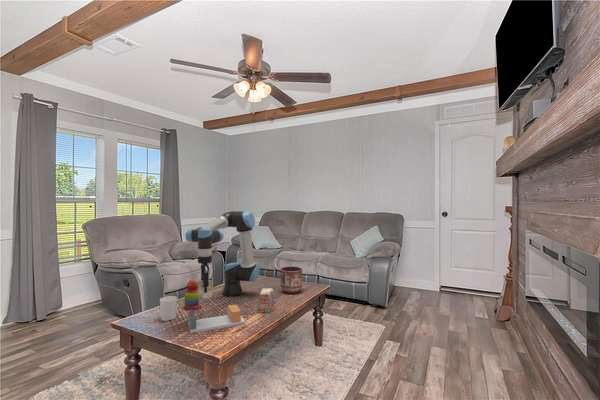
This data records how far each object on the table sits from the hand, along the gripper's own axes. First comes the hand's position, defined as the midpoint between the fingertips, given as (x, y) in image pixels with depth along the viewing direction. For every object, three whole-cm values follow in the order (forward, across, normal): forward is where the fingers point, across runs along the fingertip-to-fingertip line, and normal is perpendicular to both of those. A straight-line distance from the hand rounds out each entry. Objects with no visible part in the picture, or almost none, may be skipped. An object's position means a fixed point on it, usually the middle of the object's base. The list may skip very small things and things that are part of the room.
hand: (204, 296), depth 172 cm
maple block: (0, 0, 0) cm, 0 cm away
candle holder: (+17, -20, -18) cm, 32 cm away
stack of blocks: (+17, -14, +42) cm, 48 cm away
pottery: (+17, -39, +71) cm, 83 cm away
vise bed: (+17, 0, +7) cm, 18 cm away
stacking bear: (+17, -34, -3) cm, 38 cm away
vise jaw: (+15, 0, +17) cm, 23 cm away
